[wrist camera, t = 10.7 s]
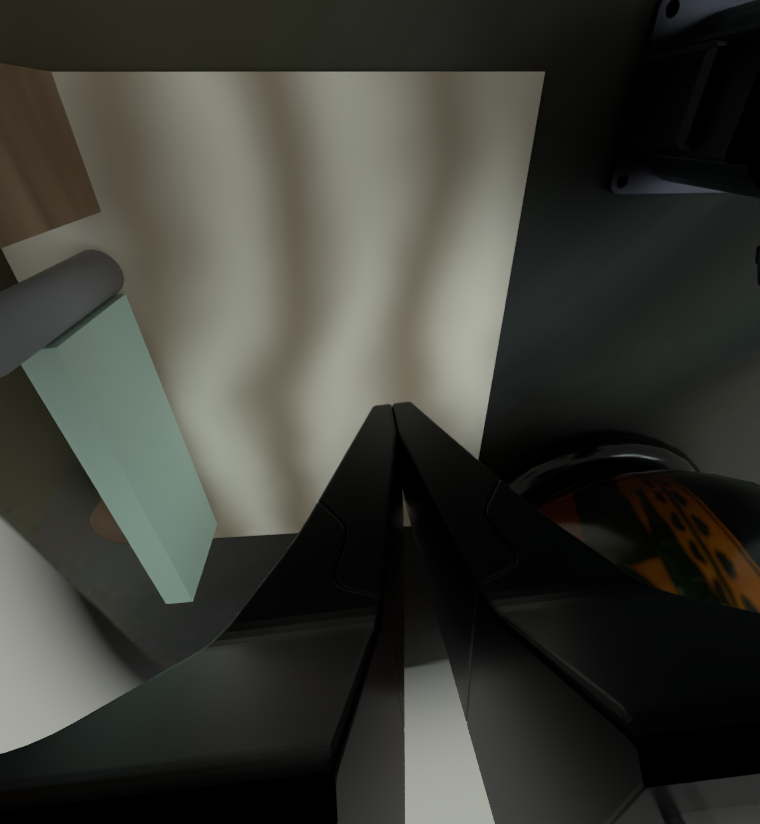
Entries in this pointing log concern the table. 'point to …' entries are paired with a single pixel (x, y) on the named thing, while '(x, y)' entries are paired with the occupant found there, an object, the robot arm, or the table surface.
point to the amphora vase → (653, 515)
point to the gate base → (283, 249)
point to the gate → (111, 411)
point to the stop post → (106, 524)
